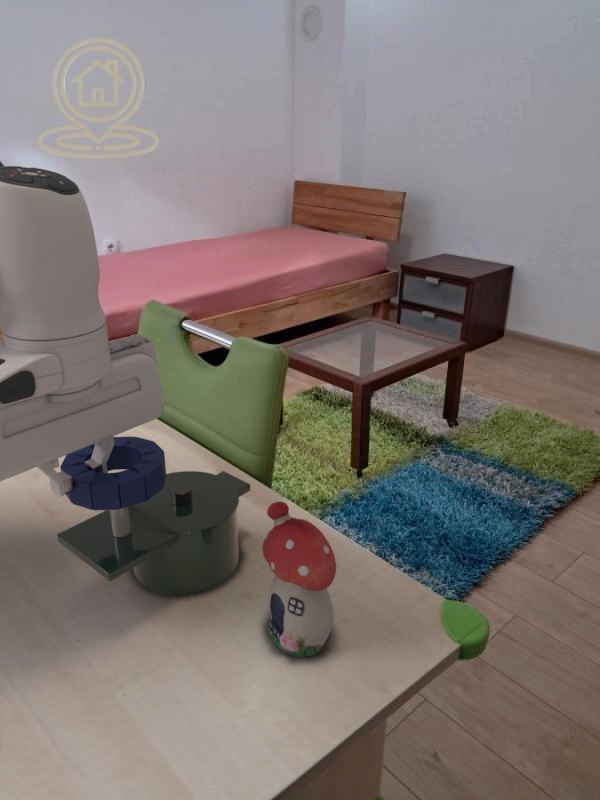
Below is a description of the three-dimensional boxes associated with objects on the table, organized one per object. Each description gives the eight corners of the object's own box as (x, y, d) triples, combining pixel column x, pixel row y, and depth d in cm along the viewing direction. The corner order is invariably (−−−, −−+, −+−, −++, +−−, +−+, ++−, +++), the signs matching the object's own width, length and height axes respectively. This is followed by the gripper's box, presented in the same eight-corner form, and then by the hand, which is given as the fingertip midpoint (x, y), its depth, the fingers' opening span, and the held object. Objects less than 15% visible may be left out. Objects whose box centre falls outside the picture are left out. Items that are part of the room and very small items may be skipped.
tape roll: (54, 512, 62) (49, 486, 61) (78, 461, 71) (75, 437, 70) (159, 508, 63) (157, 482, 62) (170, 458, 72) (168, 435, 71)
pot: (205, 509, 90) (199, 424, 84) (275, 548, 82) (274, 458, 76) (59, 590, 74) (41, 493, 69) (128, 649, 66) (114, 544, 61)
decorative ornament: (255, 611, 71) (252, 498, 65) (308, 595, 74) (310, 485, 68) (286, 672, 64) (287, 550, 57) (344, 652, 66) (351, 534, 60)
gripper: (134, 323, 67) (146, 438, 73) (-70, 377, 53) (-36, 515, 59) (171, 336, 63) (181, 456, 69) (-37, 398, 49) (-4, 543, 55)
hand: (80, 484), depth 64 cm, fingers closed on tape roll, 2 cm apart
